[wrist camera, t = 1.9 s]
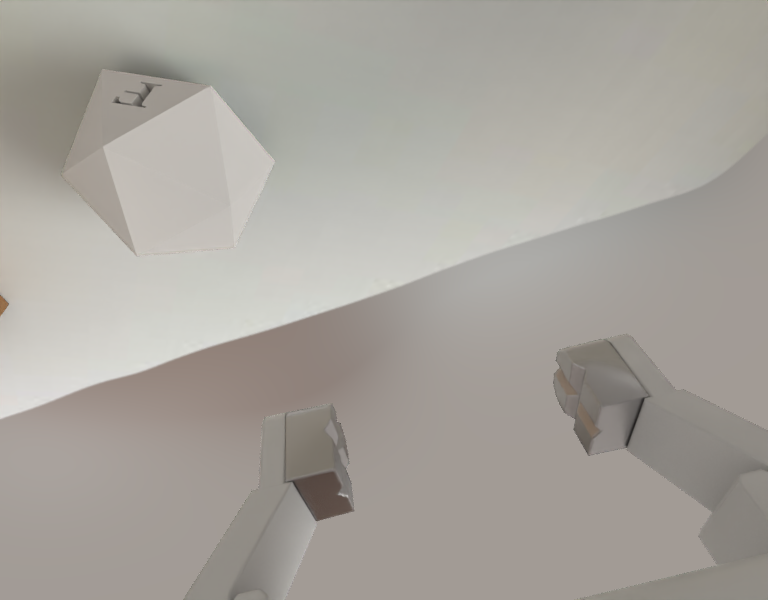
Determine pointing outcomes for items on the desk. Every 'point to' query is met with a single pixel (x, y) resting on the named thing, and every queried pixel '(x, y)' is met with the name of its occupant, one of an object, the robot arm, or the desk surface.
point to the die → (166, 164)
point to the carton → (2, 305)
